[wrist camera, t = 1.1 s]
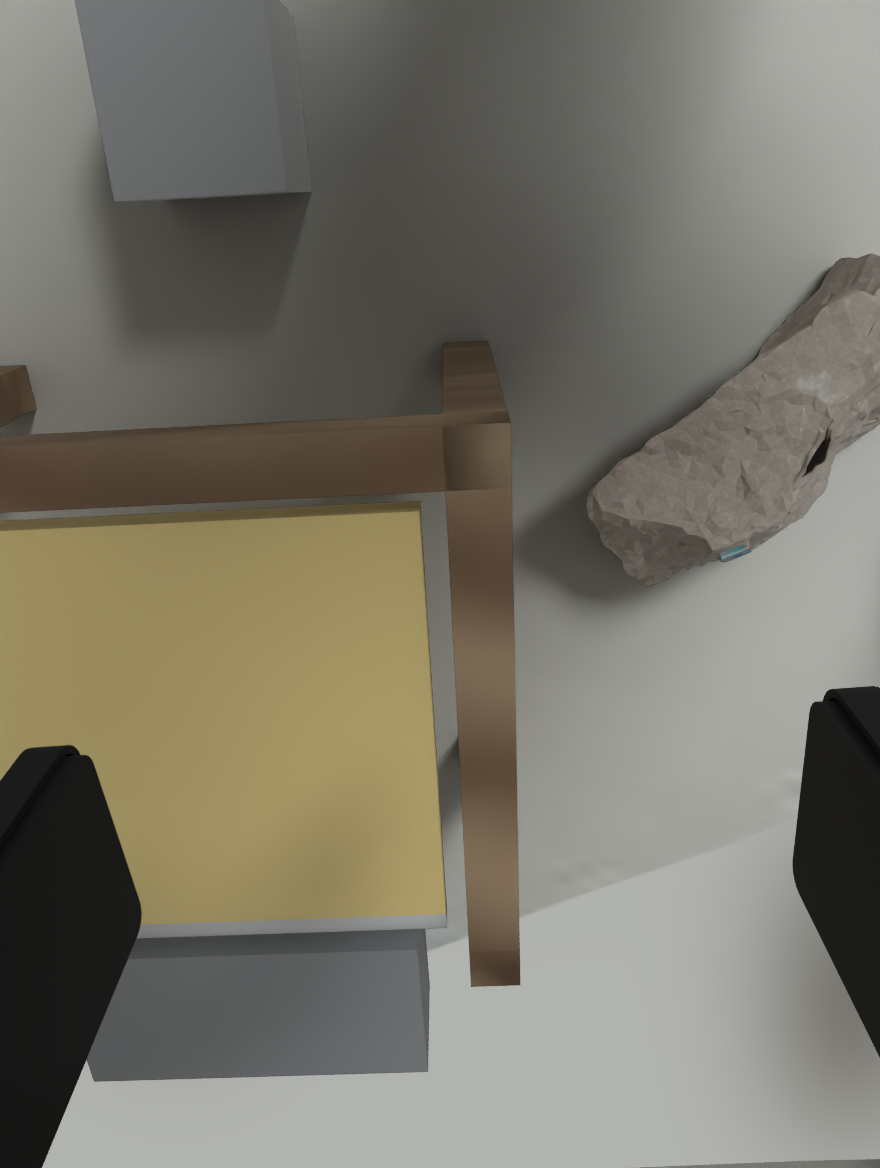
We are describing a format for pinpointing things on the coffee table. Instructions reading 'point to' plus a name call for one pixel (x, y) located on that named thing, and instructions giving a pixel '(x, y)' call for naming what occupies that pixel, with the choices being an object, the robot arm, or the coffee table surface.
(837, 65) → the coffee table surface
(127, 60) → the smooth grey cube
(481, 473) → the frame
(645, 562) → the concrete fragment
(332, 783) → the trapdoor
